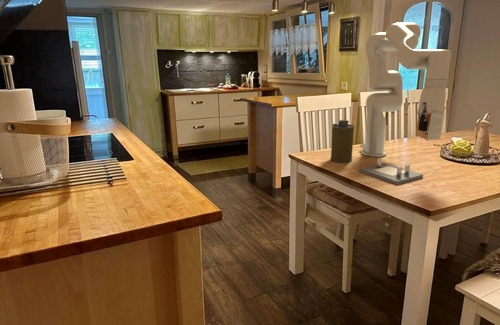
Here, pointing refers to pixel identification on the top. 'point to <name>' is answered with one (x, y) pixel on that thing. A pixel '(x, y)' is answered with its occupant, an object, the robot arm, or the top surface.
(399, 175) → the guide pins
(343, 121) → the canister
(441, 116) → the small box
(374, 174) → the pin board
